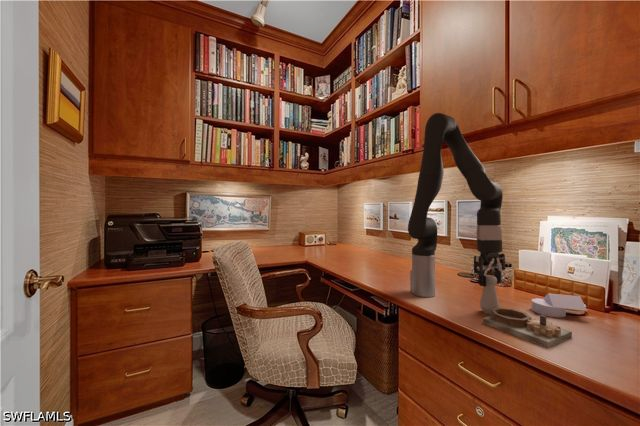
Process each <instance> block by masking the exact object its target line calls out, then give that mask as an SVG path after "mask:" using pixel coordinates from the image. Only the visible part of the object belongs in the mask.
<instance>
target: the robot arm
mask: <svg viewBox="0 0 640 426" xmlns="http://www.w3.org/2000/svg"><path fill="white" fill-rule="evenodd" d="M423 141H424V142H423V151H422V158H421V163H420V169H419V175H418V179H417V187H416V190H415V197H414V201H413V205H412V209H411V213H410V216H409V219H408V223H407V232H408V235H409V237H411V239H413V240H417V242H416V244H415V245H414V246H413V247H412V248H411V270H410V274H409V275H410V277H409V279H410V281H409V282H410V289H409V290H410V293H412V294H413V295H414V296H417V297H420V298H421V297H422V298H432V297H436V257H435V256H436V249H437V246H438V225H437V222H436V220H434V219H433V218H431V217H428V214H429V210H430V207H431V205H432V203H433V202H434V200H436V197H437V196H438V194H439V193H440V190H441V188H442V183H443V179H444V171H445V170H444V164H443V158H442V145H443V142H444V143H445V145H446V146H447V147H448V148H449V149H450V152H451V154H452V157H453V161H454V163H455V165H456V167H457V169H458V171H459V172H460V174H461V175H462V176H463V177H464V179H465V181H466V183H467V185H468V188H469V190H470V193H471V194H472V195H473V196H474V197H475V199H477V200H478V201H480V204H479V205H480V207H479V209H478V210H477V212H476V250H477V252H479V253H480V254H479V255H474V256H473V274H476V275H478V285H479V286H480V287H486V286H487V278H486V275H488V274H487V273H488V272H489V271H490V270H491V268H492V271H493V276H495V277H496V278H497V283H496V284H501V283H502V281H503V280H502V273H503V272H504V271H506V256H505V253H503V232H502V231H503V230H502V224H501V223H502V220H501V219H502V217H501V209H502V204H503V198H504V197H503V195H504V194H503V189H502V186H501V185H500V184H499V183H497V182H495V181H491V179H490V178H489V177H488V175H487V174H486V168H485V166H484V165H483V163H482V162H481V161H480V160H479V158H478V157H477V156H476V154H475V153H474V151H473V150H472V149H471V147H470V146H469V144H468V143H467V141H466V139H465V137H464V135H463V134H462V131H461V129H460V127H459V125H458V123H457V121H456V119H455V118H454V117H452V116H450V115H448V114H445V113H442V112H435V113H433V114H432V115H430V117H429V118H428V119H427V121H426V124H425V128H424V140H423Z"/></svg>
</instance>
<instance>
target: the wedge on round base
mask: <svg viewBox="0 0 640 426" xmlns="http://www.w3.org/2000/svg"><path fill="white" fill-rule="evenodd" d="M567 309H568V310H577V311H585V312H588V309H587V307H586V305H585V303H584V301H583V299H582V297H581V296H580V295H570V294H562V293H559V294H558V293H549V292H548V293H547V294H546V295H545V296H544V297H543V298H537V297H536V298H532V299H531V310H532V311H533V312H534V313H536V314H538V315H544V316H546V317H551V318H552V317H553V318H565V317H566V316H567Z"/></svg>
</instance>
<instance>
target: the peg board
mask: <svg viewBox="0 0 640 426" xmlns="http://www.w3.org/2000/svg"><path fill="white" fill-rule="evenodd" d="M482 324H484V325H487V326H490V327H493V328H495V329H498V330H500V331H503V332H505V333H508V334H511V335H513V336H516V337H519V338H522V339H524V340H526V341H529V342H532V343H535V344H536V345H540V346H543V347H545V348H548V349H549V348H552V347H553V346H556V345H558V344H560V343H562V342H564V341H566V340H569V339H570V338H572V337H573V331H571V330H567V329H565V328H561V326H560V325H559V324H557V325H556V324H553V322H550V321H547V316H546V315H542V314H539V319H538V318H536V319H535V318H534V319H533V318H532V317H531V316H530V315H529V314H528V313H526V312H523V311H520V310H517V309H514V308H508V307H507V308H506V307H500V308H495V309H492V310H491V315H489V316H486V317H482Z"/></svg>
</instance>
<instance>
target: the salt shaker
mask: <svg viewBox="0 0 640 426" xmlns="http://www.w3.org/2000/svg"><path fill="white" fill-rule="evenodd" d="M486 278H487V286H486V287H483V286H482V287H483V288H482V293H481V297H480V302H479V307H480V308H481V310H482V313H484V314H486V315H489V316H491V310H492V309H495V308H501V307H500V303H499V297H498V294H497V289H496V284H498V283H497V278H496V277H495V276H494V275H490V274H486Z"/></svg>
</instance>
